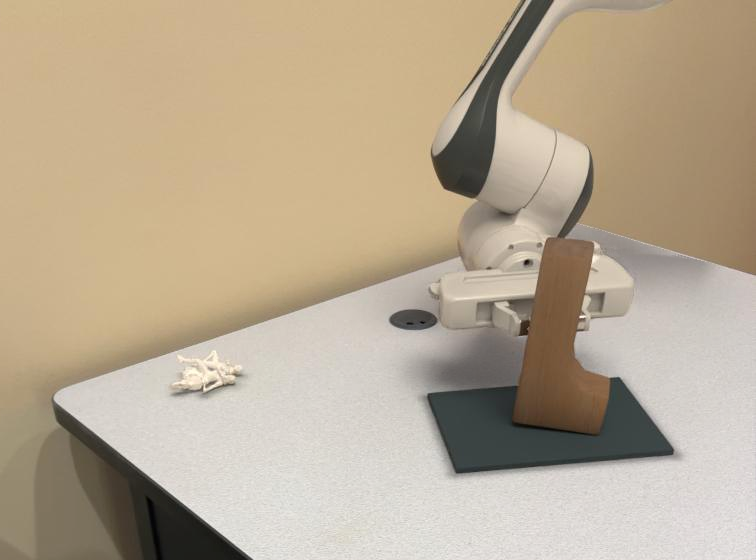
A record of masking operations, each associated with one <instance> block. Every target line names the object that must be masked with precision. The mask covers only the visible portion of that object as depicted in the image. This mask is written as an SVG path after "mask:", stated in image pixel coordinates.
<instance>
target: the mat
mask: <svg viewBox="0 0 756 560" xmlns="http://www.w3.org/2000/svg"><path fill="white" fill-rule="evenodd" d="M609 378H610V392H609V401H608V404H607V408H606V412H605V416H604V420H603V423H602V427H601V431H600V433H599V434H598V435H594V434H587V433H580V432H574V431H567V430H561V429H554V428H547V427H541V426H534V425H528V424H521V423H515V422H513V419H512V418H513V412H514V407H515V401H516V396H517V390H518V385H519V384H517V385H504V386H494V387H483V388H480V387H479V388H469V389H458V390H447V391H446V390H445V391H434V392H433V391H432V392H427V400H428V402H429V404H430V405H429V406H430V408H431V410H432V413H433V416H434V418H435V421H436V424H437V426H438V428H439V431H440V433H441V436H442V438H443V441H444V444H445V446H446V450H447V452H448V454H449V458H450V459H451V462H452V465H453V467H454V469H455V473H456V474H463V473H474V472H487V471H499V470H508V469H520V468H533V467H543V466H556V465H566V464H578V463H579V464H580V463H589V462H590V463H591V462H602V461H614V460H624V459H625V460H626V459H636V458H647V457H661V456H671V455H674V452H675V448H674V446H672V444H671V443H670V441H669V440H668V439H667V438H666V436H665V435H664V433H663V432H662V431H661V430H660V429H659V427H658V425H656V423H655V422H654V420H653V419H652V418H651V417H650V415H649V414H648V413H647V411H646V410H645V408H644V407H643V406H642V405H641V403H640V402H639V400H637V398H636V396H635V395H634V394H633V393H632V391H631V390H630V389H629V387H628V386H627V385H626V384H625V382H624V381H623V380H622V379H621V377H620V376H613V377H609Z"/></svg>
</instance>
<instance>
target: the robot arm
mask: <svg viewBox="0 0 756 560" xmlns="http://www.w3.org/2000/svg"><path fill="white" fill-rule="evenodd" d="M672 1H673V0H520V1H519V3H518V5H517V6H516V8H515V9H514V11H513V12H512V14H511V16H510V17H509V19H508V20H507V22H506V24H505V26H503V28H502V30H501V32H500V33H499V35H498V37H497V38H496V40H495V41H494V43H493V44H492V46H491V48H490V50H489V51H488V53H487V54H486V56H485V58H484V59H483V61H482V63H481V64H480V65H479V68H478V69H477V71H476V72H475V74H474V76H473V77H472V78H471V80H470V81H469V83H468V84H467V85H466V87H465V89H464V90H463V91H462V93H461V94H460V95H459V97H458V98H457V100H456V101H455V102H454V104H453V105H452V107H450V109H449V111H448V112H447V113H446V115H445V116H444V118H443V119H442V121H441V123H440V124H439V126H438V128H437V130H436V132H435V135H434V138H433V141H432V143H431V148H430V159H431V163H432V166H433V169H434V172H435V175H436V177H437V179H438V181H439V183H440V185H441V187H442V189H443V190H446V191H448V192H451V193H453V194H456V195H459V196H462V197H465V198H469V199H471V200H473V199H474V200H476V201H475V202H473V203H472V204H471V205H469V207H467V208H466V210H465V211H464V213H463V214H462V216H461V218H460V220H459V224H458V227H457V239H456V241H457V250H458V253H459V254H458V255H459V257H460V260H461V262H462V264H463V267H464V268H465V270H466V271H455V272H449V273H446V274H444V275H443V276H441V278H439V280H438V281H437V282H436V281H435V282H431V283H429V284H428V287H427V288H428V289H427V290H428V293H429V295H430V297H431V298H432V300H435V301H437V302H438V318H439V321H440V324H441V325H440V326H442V327H443V328H445V329H448V330H451V331H459V330H469V329H470V330H471V329H480V328H481V329H482V328H495V327H496V328H499V329H500V330H504V331H507V332H509V333H510V334H511V336H512V337H513V338H517V337H518V338H519V337H527V335H528V329H529V324H530V318H531V313H532V307H533V302H534V296H535V291H536V285H537V280H538V274H539V269H540V263H541V258H542V253H543V249H544V246H545V242H546V240H547V238H548V237H557V238H567V236H568V235H569V234H570V233H571V231H572V230H573V229H574V228H575V227H576V225H577V223H578V222H579V221H580V220H581V218H582V216H583V214H584V213H585V211H586V208H587V207H588V205H589V202H590V201H591V197H592V195H593V191H594V180H595V179H594V178H595V177H594V176H595V174H594V172H595V171H594V160H593V156H592V153H591V150H590V147H589V146H588V145H587V144H586V143H583V142H581V141H579V140H577V139H576V138H574V137H572V136H570V135H569V134H566V133H565V132H563V131H561V130H559V129H558V128H555V127H553V126H549V125H547V124H546V123H543V122H541V121H539V120H537V119H536V118H534V117H532V116H530V115H528V114H526V113H524V112H522V111H520V110H518V109H517V108H515V107H514V106H513V103H512V101H513V96H514V94H515V92H516V91H517V89H518V87H519V86H520V85H521V83H522V81H523V80H524V78H525V77H526V76H527V74H528V72H529V70H530V69H531V67H532V65H534V63H535V61H536V59H537V58H538V57H539V54H540V53H541V51H542V50H543V49H544V47H545V46H546V44H547V42H548V40H549V39H550V37H551V36H552V34H553V33H554V31H555V30H556V29H557V28H558V26H559V25H560V24H561V23H563V22H564V21H565V20H566V19H567V18H569V17H570V16H573V15H575V14H578V13H585V12H587V13H588V12H589V13H590V12H592V13H610V14H611V13H615V14H634V13H641V12H643V13H644V12H648V11H652V10H655V9H657V8H660V7H664V6H665V5H667V4H668V3H670V2H672ZM584 240H585V241H587V240H586V239H584ZM591 241H592V242H594V252H593V259H592V264H591V269H590V273H589V278H588V282H587V287H586V291H585V296H584V300H583V305H582V309H581V314H580V318H579V323H578V327H577V332H580V333H581V332H589V330H590V326H591V320H594V319H609V318H622V317H624V316H626V315H627V314H628V313H629V312H630V309H631V306H632V303H633V299H634V292H635V280H634V278H633V277H632V275H630V274H629V272H628V271H627V270H626V269H625V268H624V267H623V266H622V265H621V264H619V263H618V262H617V261H616V260H615V259H613V258H612V257H610V256H608V255H606V254H601V245H600V244H599V243H598V242H596V241H594V240H591ZM577 332H576V333H577Z"/></svg>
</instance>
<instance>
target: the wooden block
mask: <svg viewBox="0 0 756 560" xmlns="http://www.w3.org/2000/svg"><path fill="white" fill-rule="evenodd" d="M585 240H586V239H576V238H575V239H574V238H567V237H565V238H557V237H548V238H547V240H546V242H545V246H544V249H543V253H542V258H541V263H540V269H539V274H538V280H537V285H536V291H535V296H534V302H533V307H532V313H531V318H530V324H529V328H528V335H527V336H526V340H525V346H524V351H523V358H522V362H521V363H522V364H521V368H520V375H519V378H518V384H517V385H518V390H517V396H516V401H515V407H514V412H513V418H512V419H513V422H515V423H521V424H528V425H534V426H541V427H547V428H554V429H561V430H567V431H574V432H580V433H587V434H594V435H598V434H599V433H600V431H601V427H602V423H603V420H604V416H605V412H606V408H607V404H608V401H609V392H610V378H611V377H609V376H605V375H602V374H598V373H596V372H592V371H589V370H586V369H585V368H584V367H583V365H582V363H580V362H579V360H578V358H576V353H575V352H576V351H575V341H576V336H577V327H578V323H579V318H580V314H581V309H582V305H583V300H584V296H585V291H586V287H587V282H588V278H589V273H590V269H591V264H592V259H593V252H594V242H595V241H594V242H592V241H593V240H586V241H585Z"/></svg>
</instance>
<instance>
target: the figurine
mask: <svg viewBox="0 0 756 560" xmlns="http://www.w3.org/2000/svg"><path fill="white" fill-rule="evenodd" d="M176 356H177V359H178V360H179V362H180V364H188V365H190V366H186V368H184V370H183V371H182V370H177V371H176V372H177V373H182V379H181V381H175V382H173V383H171V385H170V387H171V389H173V390H181V389H183V390H190V391H198V390H201V389H202V388H203V390H202V393H204V394H206V393H207V392H208V391H210V390H213V389H215V388H217V387H221V386H223V385H224V386H226V385H228V384H230V385H233V384H235V383H236V382H237V376H236V375H234V374H241V373H242V372H243V371H244V369H243V366H242V365H241V364H238V365H237V364H235V365H233V364H232V363H230V359H228V358H226V359H224V361H223V362H220V360H219V355H218V352H217V350H215V349H213V350H212V351H211V352H210V353H209V354H208V356H207V357H205V358H204V359H203V360H201V359H200V358H186V357H183V355H180V354H176ZM210 369H211V370H210ZM212 382H213V383H214V384H212V385H210V386H209V387H208V388H207V387H206V386H207V385H209V384H210V383H212Z"/></svg>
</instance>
